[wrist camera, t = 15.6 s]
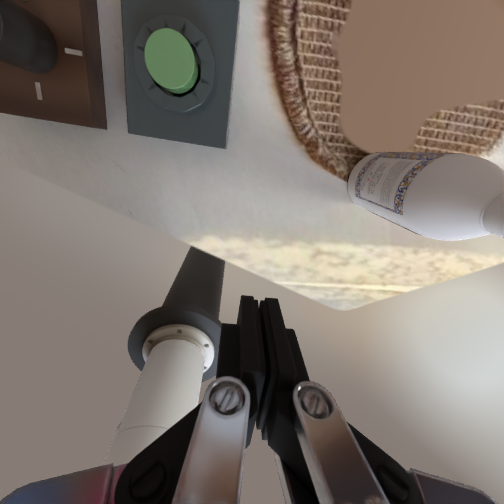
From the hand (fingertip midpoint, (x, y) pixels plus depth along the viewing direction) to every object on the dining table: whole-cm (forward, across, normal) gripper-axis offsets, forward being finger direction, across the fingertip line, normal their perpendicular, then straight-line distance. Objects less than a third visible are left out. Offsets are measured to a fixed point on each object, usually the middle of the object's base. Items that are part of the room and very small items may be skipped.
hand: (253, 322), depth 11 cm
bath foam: (+22, -16, -6) cm, 28 cm away
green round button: (+18, +8, -13) cm, 23 cm away
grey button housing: (+22, +8, -13) cm, 27 cm away
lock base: (+22, +21, -13) cm, 33 cm away
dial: (+19, +21, -13) cm, 31 cm away
